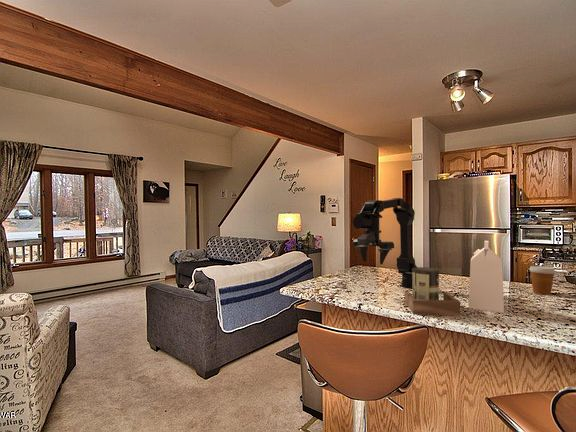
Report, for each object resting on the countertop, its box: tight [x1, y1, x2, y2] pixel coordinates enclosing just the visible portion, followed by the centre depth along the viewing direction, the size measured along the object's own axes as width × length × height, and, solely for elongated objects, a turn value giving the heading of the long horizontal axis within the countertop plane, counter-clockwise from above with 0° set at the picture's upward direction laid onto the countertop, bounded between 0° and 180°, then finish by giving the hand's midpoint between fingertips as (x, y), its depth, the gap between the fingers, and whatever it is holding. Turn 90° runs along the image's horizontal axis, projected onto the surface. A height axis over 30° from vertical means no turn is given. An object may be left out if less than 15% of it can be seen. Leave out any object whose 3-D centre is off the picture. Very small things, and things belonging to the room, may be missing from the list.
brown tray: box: [404, 290, 461, 317], centre depth 125 cm, size 14×16×5 cm
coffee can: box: [411, 266, 440, 300], centre depth 132 cm, size 10×10×14 cm
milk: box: [468, 240, 505, 314], centre depth 128 cm, size 12×12×26 cm
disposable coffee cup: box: [528, 265, 557, 296], centre depth 148 cm, size 10×10×12 cm
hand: (372, 263), depth 145 cm, fingers open, 9 cm apart
